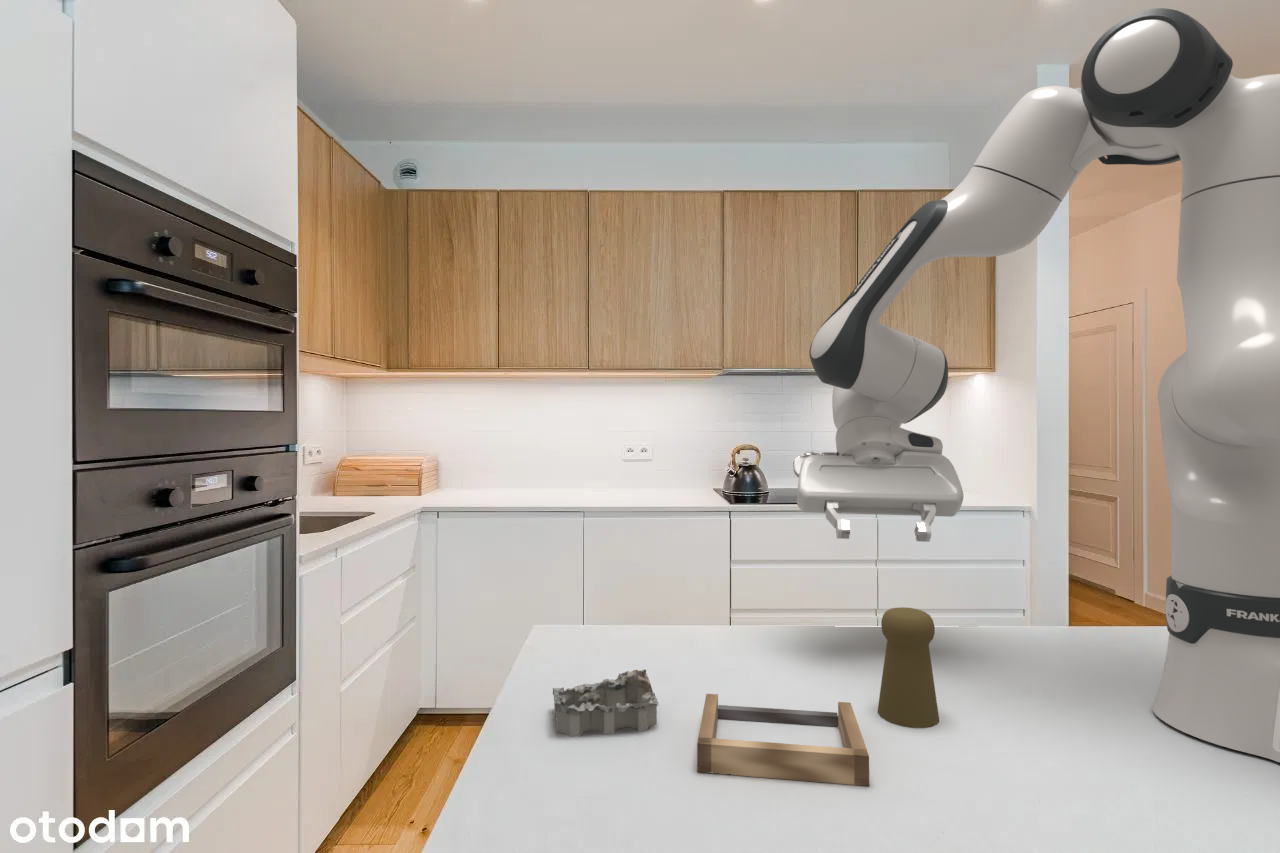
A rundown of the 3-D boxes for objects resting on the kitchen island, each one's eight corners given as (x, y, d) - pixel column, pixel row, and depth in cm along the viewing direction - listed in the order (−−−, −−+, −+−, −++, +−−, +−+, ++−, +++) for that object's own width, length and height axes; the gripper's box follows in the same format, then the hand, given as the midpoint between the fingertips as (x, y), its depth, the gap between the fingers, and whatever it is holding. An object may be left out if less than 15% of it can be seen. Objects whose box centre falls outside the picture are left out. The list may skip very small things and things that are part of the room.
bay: (849, 723, 69) (849, 698, 69) (869, 786, 57) (869, 756, 57) (707, 713, 71) (707, 689, 71) (697, 772, 59) (697, 743, 59)
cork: (945, 730, 67) (945, 619, 67) (881, 725, 68) (881, 616, 68) (932, 705, 73) (932, 603, 73) (873, 701, 74) (873, 601, 74)
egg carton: (650, 705, 75) (650, 667, 75) (661, 735, 67) (661, 694, 67) (552, 709, 73) (552, 671, 73) (552, 741, 66) (552, 699, 66)
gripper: (793, 437, 92) (797, 519, 83) (953, 438, 89) (977, 524, 79) (791, 467, 97) (795, 548, 87) (944, 470, 93) (965, 555, 84)
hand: (883, 537), depth 83 cm, fingers open, 8 cm apart
